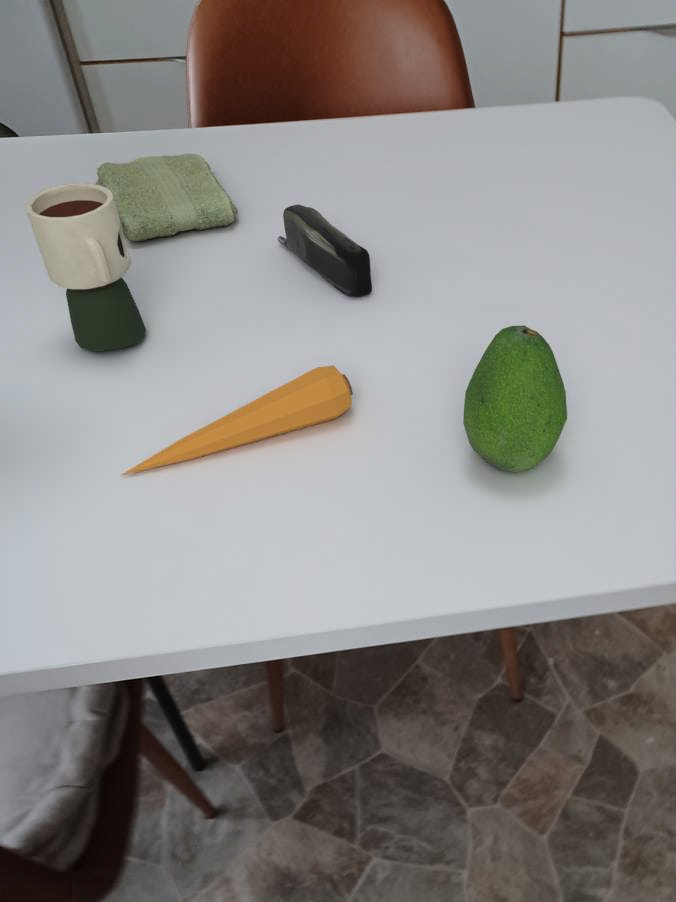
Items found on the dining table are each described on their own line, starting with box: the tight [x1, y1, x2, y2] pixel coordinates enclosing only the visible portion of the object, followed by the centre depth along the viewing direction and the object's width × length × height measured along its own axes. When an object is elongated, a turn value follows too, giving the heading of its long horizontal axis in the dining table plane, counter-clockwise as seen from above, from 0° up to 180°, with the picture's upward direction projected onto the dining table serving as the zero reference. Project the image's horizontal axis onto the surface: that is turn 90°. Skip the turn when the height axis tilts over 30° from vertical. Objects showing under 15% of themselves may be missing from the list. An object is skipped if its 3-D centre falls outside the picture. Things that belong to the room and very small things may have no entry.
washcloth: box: [95, 153, 239, 242], centre depth 107 cm, size 13×18×3 cm
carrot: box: [119, 365, 354, 477], centre depth 78 cm, size 20×4×4 cm, turn 119°
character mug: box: [24, 182, 147, 352], centre depth 85 cm, size 11×7×13 cm, turn 34°
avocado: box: [462, 324, 568, 473], centre depth 73 cm, size 8×8×12 cm
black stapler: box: [277, 204, 373, 297], centre depth 97 cm, size 5×3×15 cm
